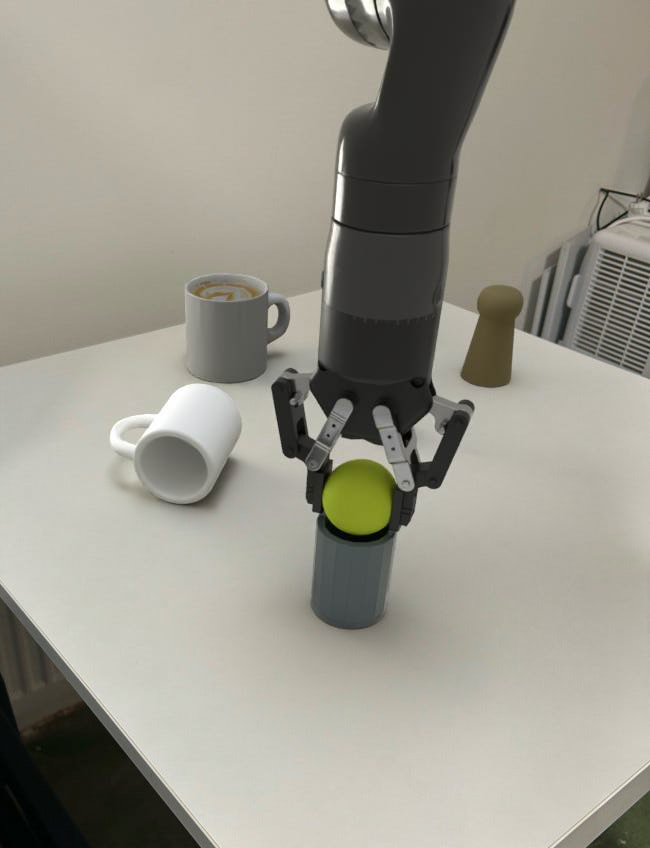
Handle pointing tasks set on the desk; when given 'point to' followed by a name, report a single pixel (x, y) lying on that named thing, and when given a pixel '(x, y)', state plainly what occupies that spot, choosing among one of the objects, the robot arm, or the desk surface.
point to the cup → (351, 575)
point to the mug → (182, 443)
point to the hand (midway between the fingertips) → (357, 515)
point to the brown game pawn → (493, 337)
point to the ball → (359, 496)
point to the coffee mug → (230, 326)
